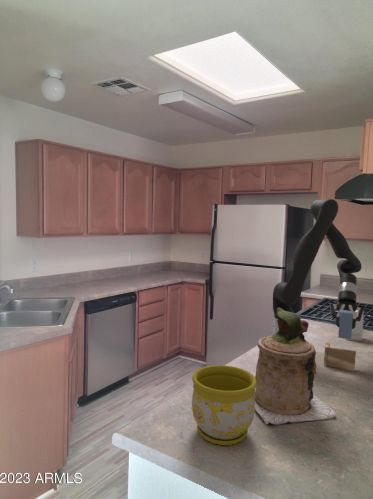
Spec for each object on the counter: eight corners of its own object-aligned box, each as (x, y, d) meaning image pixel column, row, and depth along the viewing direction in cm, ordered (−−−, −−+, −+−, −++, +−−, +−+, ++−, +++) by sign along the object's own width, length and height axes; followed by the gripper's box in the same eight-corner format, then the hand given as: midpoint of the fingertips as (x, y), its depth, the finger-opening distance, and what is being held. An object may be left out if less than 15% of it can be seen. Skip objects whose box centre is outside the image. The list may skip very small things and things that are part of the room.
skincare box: (358, 337, 198) (360, 308, 197) (362, 341, 192) (364, 311, 191) (342, 336, 199) (343, 308, 198) (346, 340, 193) (348, 311, 191)
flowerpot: (177, 431, 105) (179, 375, 104) (218, 409, 118) (220, 360, 116) (226, 462, 92) (229, 399, 91) (266, 434, 105) (269, 378, 103)
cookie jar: (267, 428, 108) (272, 321, 105) (234, 390, 132) (238, 302, 129) (338, 418, 115) (345, 318, 112) (295, 384, 138) (300, 300, 136)
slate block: (338, 337, 156) (340, 312, 156) (338, 334, 161) (340, 309, 160) (351, 339, 155) (352, 313, 154) (351, 336, 159) (352, 311, 158)
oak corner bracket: (325, 357, 167) (326, 340, 166) (354, 362, 162) (355, 344, 162) (323, 365, 157) (324, 347, 156) (354, 371, 152) (355, 352, 151)
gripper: (330, 288, 166) (327, 320, 156) (365, 291, 160) (364, 325, 150) (330, 297, 171) (327, 329, 161) (364, 301, 165) (363, 334, 155)
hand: (345, 327), depth 156 cm, fingers closed on slate block, 5 cm apart
